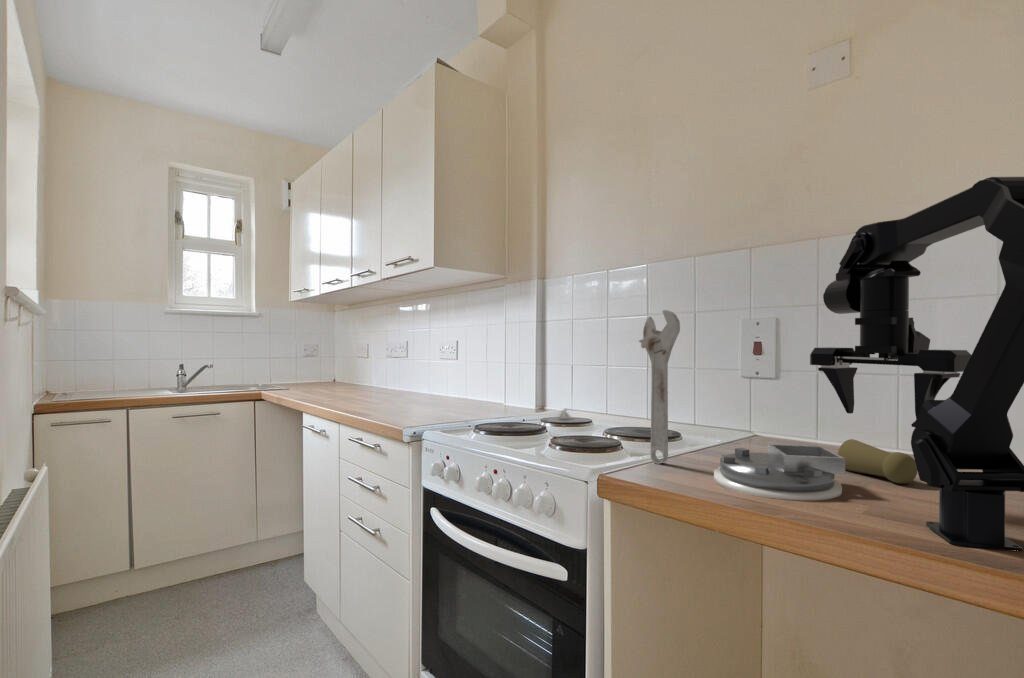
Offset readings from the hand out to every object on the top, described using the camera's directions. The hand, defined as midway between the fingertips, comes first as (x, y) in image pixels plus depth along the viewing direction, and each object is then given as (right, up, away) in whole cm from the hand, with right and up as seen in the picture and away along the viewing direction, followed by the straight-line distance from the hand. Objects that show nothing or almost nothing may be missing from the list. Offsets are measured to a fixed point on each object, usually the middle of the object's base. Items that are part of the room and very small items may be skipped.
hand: (883, 417), depth 73 cm
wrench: (-26, -13, +25) cm, 38 cm away
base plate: (-10, -13, +11) cm, 20 cm away
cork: (+9, -10, +21) cm, 25 cm away
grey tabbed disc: (-10, -12, +11) cm, 19 cm away
